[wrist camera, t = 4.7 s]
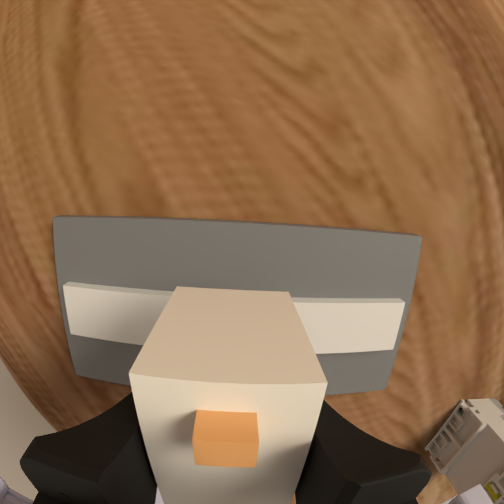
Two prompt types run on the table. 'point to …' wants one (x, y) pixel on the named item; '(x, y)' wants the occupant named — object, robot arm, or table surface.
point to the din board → (234, 286)
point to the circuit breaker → (472, 447)
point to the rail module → (227, 397)
